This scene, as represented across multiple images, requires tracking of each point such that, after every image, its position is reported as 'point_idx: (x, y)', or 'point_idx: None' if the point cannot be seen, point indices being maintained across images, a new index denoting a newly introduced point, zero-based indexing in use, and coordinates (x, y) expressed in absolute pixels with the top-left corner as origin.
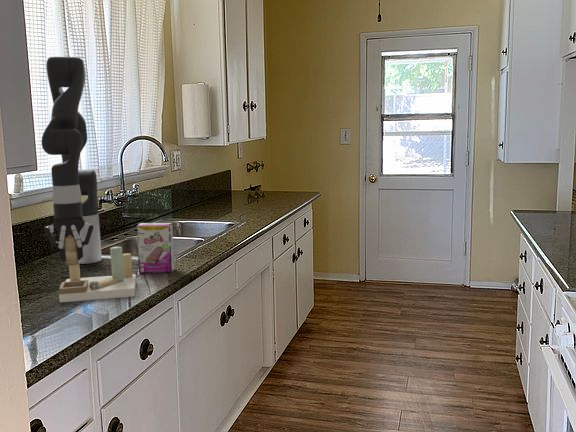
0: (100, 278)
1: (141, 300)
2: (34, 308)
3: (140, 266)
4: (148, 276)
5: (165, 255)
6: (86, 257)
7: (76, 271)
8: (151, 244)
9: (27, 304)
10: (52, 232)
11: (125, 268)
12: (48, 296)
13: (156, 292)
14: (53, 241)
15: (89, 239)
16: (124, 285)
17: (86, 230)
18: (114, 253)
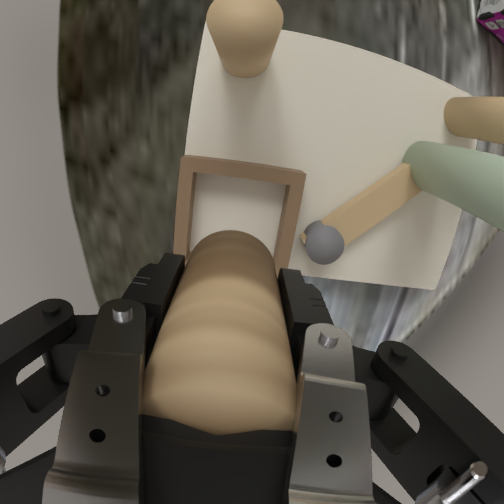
0: (361, 81)
1: (421, 318)
2: (111, 276)
3: (495, 20)
4: (496, 71)
5: None
6: None
7: (255, 66)
8: None
9: (82, 224)
10: (2, 451)
11: (476, 137)
12: (136, 149)
13: (474, 262)
14: (56, 402)
15: (400, 434)
16: (423, 242)
17: (421, 495)
18: (496, 225)
